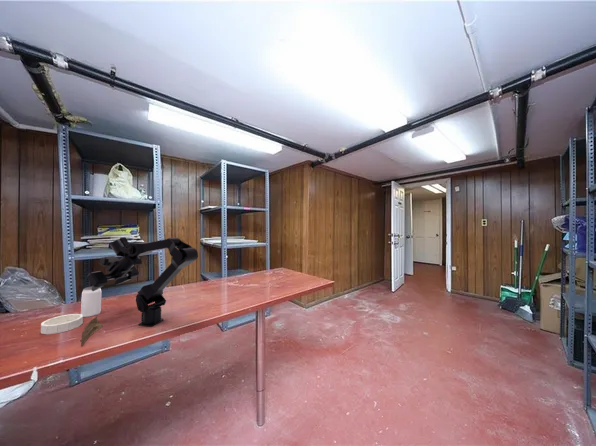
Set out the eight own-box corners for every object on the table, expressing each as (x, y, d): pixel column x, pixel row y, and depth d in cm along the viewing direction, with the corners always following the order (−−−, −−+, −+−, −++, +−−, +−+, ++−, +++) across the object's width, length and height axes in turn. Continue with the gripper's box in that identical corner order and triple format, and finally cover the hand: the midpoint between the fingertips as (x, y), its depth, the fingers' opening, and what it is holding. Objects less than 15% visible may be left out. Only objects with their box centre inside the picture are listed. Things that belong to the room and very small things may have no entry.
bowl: (89, 322, 89) (89, 315, 89) (55, 335, 78) (55, 327, 78) (68, 319, 91) (69, 312, 91) (32, 332, 80) (32, 324, 80)
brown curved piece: (86, 346, 72) (87, 331, 72) (78, 347, 71) (78, 332, 71) (102, 326, 85) (103, 314, 86) (96, 327, 85) (96, 315, 85)
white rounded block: (88, 318, 93) (89, 290, 93) (76, 316, 94) (77, 289, 94) (104, 312, 99) (105, 286, 99) (93, 311, 100) (94, 285, 101)
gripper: (134, 248, 104) (115, 270, 106) (91, 253, 86) (68, 278, 88) (148, 265, 103) (128, 287, 104) (106, 273, 84) (83, 299, 86)
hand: (104, 287), depth 96 cm, fingers open, 9 cm apart
